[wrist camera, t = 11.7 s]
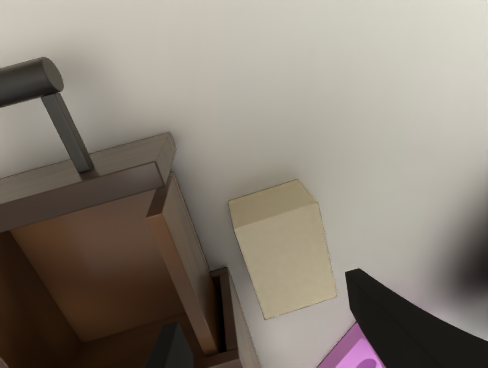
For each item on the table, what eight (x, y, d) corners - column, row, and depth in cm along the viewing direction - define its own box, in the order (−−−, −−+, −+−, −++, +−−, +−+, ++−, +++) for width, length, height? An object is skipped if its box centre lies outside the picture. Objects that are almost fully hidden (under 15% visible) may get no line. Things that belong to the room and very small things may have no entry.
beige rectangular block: (255, 281, 24) (264, 320, 20) (227, 200, 21) (233, 228, 17) (316, 261, 24) (337, 297, 20) (297, 178, 21) (318, 201, 17)
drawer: (-85, 104, 16) (-248, 124, 10) (139, 44, 16) (105, 31, 10) (73, 344, 23) (30, 436, 17) (228, 298, 23) (237, 373, 17)
